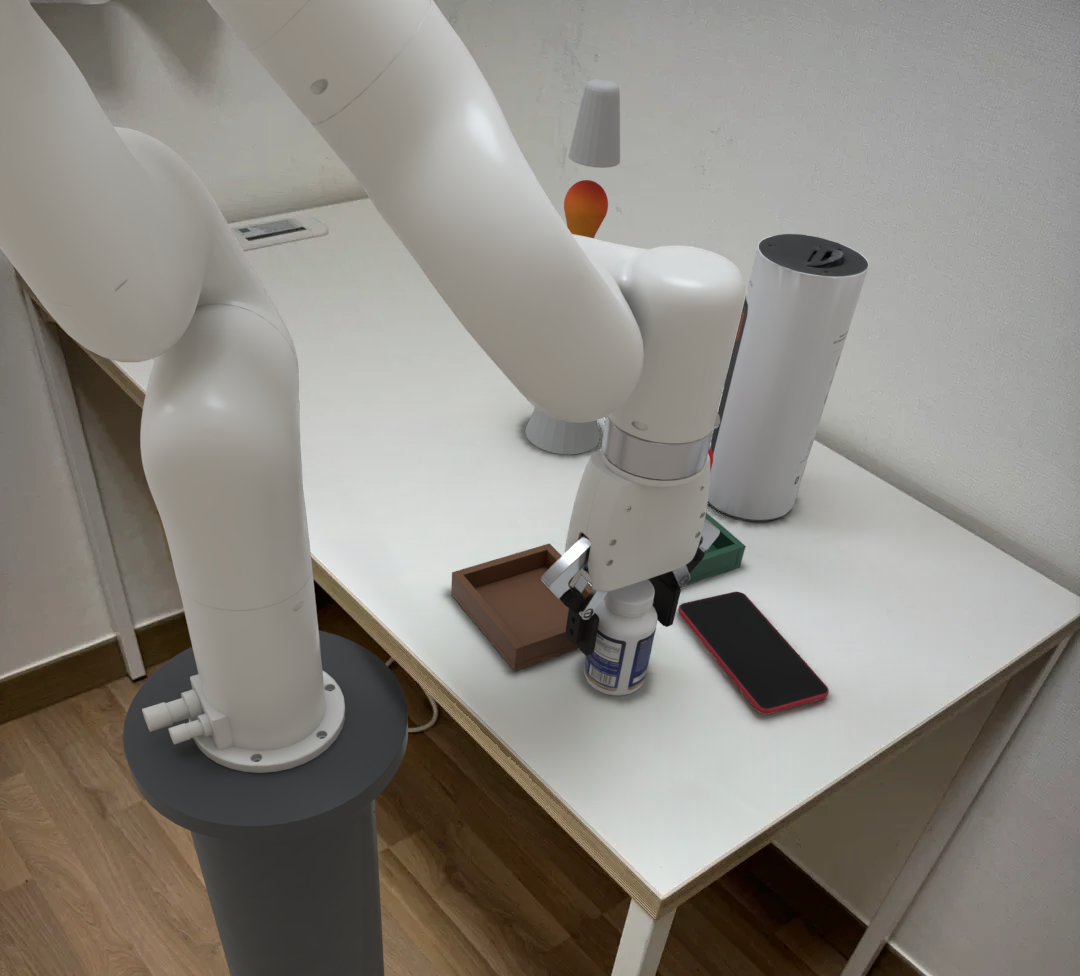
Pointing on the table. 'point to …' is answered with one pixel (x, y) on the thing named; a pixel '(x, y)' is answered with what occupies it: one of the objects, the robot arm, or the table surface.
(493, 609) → the walnut tray
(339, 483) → the table surface
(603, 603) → the pill bottle
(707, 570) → the green tray
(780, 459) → the white tall cylinder
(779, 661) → the smartphone
